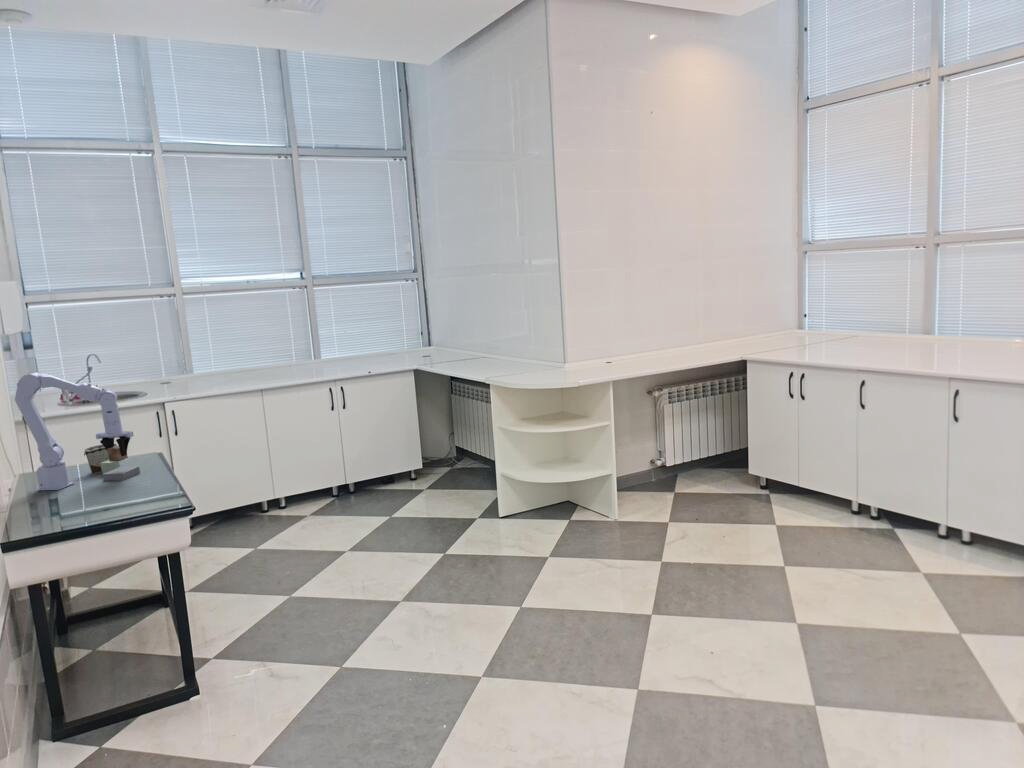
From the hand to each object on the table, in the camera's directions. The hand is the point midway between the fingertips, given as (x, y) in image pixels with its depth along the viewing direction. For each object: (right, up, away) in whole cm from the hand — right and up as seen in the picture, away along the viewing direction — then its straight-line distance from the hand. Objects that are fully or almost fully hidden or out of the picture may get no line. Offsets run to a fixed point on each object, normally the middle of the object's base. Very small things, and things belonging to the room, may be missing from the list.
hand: (118, 455), depth 278 cm
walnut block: (0, -2, 0) cm, 2 cm away
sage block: (-7, -8, +8) cm, 13 cm away
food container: (-14, -7, +15) cm, 22 cm away
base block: (+1, -9, +2) cm, 9 cm away
